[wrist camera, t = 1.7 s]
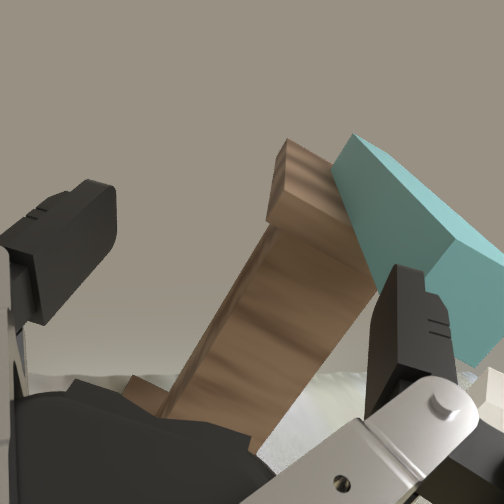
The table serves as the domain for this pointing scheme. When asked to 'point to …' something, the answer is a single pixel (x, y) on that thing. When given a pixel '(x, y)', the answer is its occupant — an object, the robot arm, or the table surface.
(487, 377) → the block
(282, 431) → the table surface
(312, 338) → the walnut stand
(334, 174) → the teal bar
